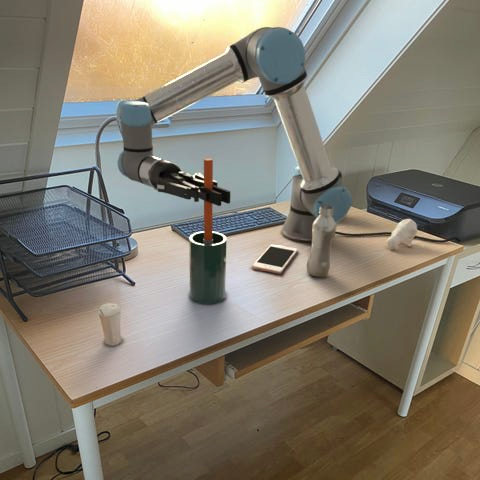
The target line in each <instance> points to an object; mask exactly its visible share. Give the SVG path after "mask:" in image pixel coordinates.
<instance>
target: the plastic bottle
mask: <svg viewBox="0 0 480 480" xmlns="http://www.w3.org/2000/svg"><path fill="white" fill-rule="evenodd" d="M333 211H334V207H332V206H330V205H321V206H320V211H319V214H320V215H319V216H318V217H317V218H316V219H315V221H314V222H313V225H312V242H311V248H310V253H309V257H308V260H307V262H306V271H307V273H308V274H309V275H310V276H313V277H317V278H319V277H320V278H321V277H326V276H327V275H328V274H329V271H330V269H331V249H332V244H333V241H334V237H335V235H336V234H335V231H336V232H337V222H335V221H334V219H333V217H332V215H333V214H334V213H333Z"/></svg>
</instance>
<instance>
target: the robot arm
mask: <svg viewBox="0 0 480 480" xmlns="http://www.w3.org/2000/svg"><path fill="white" fill-rule="evenodd" d="M305 64H306V50H305V45H304V44H303V42H302V40H301V38H300V36H298V35H297V34H296V33H295V32H294V31H292V30H290V29H289V28H285V27H283V26H282V27H281V26H274V27H271V26H270V27H269V26H264V27H263V26H262V27H260V28H257V29H255V30H254V31H252V32H250V33H249V34H247V35H246V36H244V37H243V38H240V39H239V40H238V41H236V42H234V43H232V44H231V45H229V46H227V48H226V50H225V52H224V53H223V54H221V55H218V56H217V57H215V58H213V59H211V60H209V61H208V62H206V63H203V64H202V65H200V66H198V67H196V68H194V69H193V70H190V71H188V72H187V73H185V74H182V75H181V76H179V77H177V78H176V79H173V80H171V81H170V82H168V83H166V84H164V85H162V86H160V87H158V88H157V89H155V90H153V91H151V92H149V93H147V94H145V95H143V96H141V97H140V98H138V99H136V100H131V101H124V102H121V104H120V105H119V120H120V119H121V121H120V125H121V134H122V135H121V136H122V143H123V144H122V145H123V146H122V147H123V148H122V149H123V150H122V151H121V152H120V154H119V155H118V159H117V168H118V171H119V172H120V174H121V175H122V176H124V177H126V178H128V179H129V180H131V181H134V182H137V183H139V184H143V185H145V186H147V187H150V188H152V189H154V190H155V191H157V192H158V193H164V194H167V195H168V194H169V195H171V196H174V197H178V198H181V199H184V200H188V201H189V200H191V199H193V202H194V203H198V202H200V200H202V201H203V202H204V201H207V202H209V203H212V204H213V205H215V206H217V207H221V206H222V203H225V204H227V205H228V204H231V190H228V189H225V188H223V187H220V186H218V181H216V180H214V179H213V190H210V189H208V188H205V187H204V174H202V173H201V172H197V171H196V172H195V174H194V175H192V174H190V173H186V172H184V171H182V170H181V168H180V166H178V164H176V163H174V162H171V161H169V160H166V159H163V158H161V157H160V158H159V157H157V156H154V147H153V146H154V145H153V126H155V125H156V124H158V123H159V122H162V121H164V120H167V118H169V117H171V116H174V115H175V114H177V113H179V112H181V111H183V110H185V109H187V108H189V107H190V106H193V105H194V104H197V103H198V102H201V101H202V100H204V99H206V98H208V97H210V96H212V95H214V94H215V93H218V92H220V91H221V90H223V89H225V88H227V87H229V86H231V85H233V84H235V83H236V82H238V83H241V84H243V83H246V82H247V81H250V80H253V79H255V78H258V79H259V82H260V84H261V87H262V90H263V92H264V94H265V97H267V98H269V99H272V100H273V102H274V105H275V107H276V111H277V113H278V116H279V118H280V121H281V123H282V127H283V128H284V131H285V135H286V136H287V140H288V142H289V145H290V148H291V150H292V153H293V156H294V158H295V161H296V163H297V165H296V166H295V168H294V170H293V175H292V184H291V185H292V186H291V195H290V205H289V212H288V214H287V217H286V218H285V221H284V223H283V226H282V232H281V233H282V235H283V236H284V237H285V238H287V239H289V240H291V241H295V242H299V243H312V225H313V222H314V221H315V219H316V218H317V217H318V216H319V215H320V214H319V211H320V206H321V205H330V206H332V207H334V211H333V213H334V214H333V215H332V217H333V219H334V221H335V223H337V222H340V221H341V220H342V219H344V218H345V217H346V216H347V215H348V213H349V211H350V209H351V207H352V202H353V197H352V195H351V193H350V191H349V189H348V188H346V187H345V186H344V185H343V181H342V178H340V175H339V172H338V170H339V169H337V167H334V166H332V165H331V163H330V159H329V156H328V154H327V150H326V147H325V143H324V141H323V138H322V135H321V132H320V129H319V126H318V123H317V120H316V117H315V114H314V111H313V107H312V105H311V102H310V99H309V96H308V92H307V89H306V87H305V83H306V80H307V79H308V73H307V70H306V67H305ZM392 232H393V231H381V232H366V233H365V232H364V233H347V232H340V231H337V230H336V231H335V234H334V235H340V236H346V237H365V236H366V237H369V236H382V235H383V236H384V235H386V236H387V235H389V236H391V234H392ZM413 239H418V240H423V241H427V242H432V243H439V244H440V243H448V242H451V241H453V240H456V241H457V242H461V239H460V238H459V237H457V236H452V237H449V238H446V239H434V238H428V237H423V236H419V235H415V237H414V238H413Z"/></svg>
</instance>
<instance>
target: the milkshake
mask: <svg viewBox="0 0 480 480" xmlns="http://www.w3.org/2000/svg"><path fill="white" fill-rule="evenodd" d="M97 313H98V316H99V320H100V324H101V328H102V333H103V337H104V342H105V344H106V345H107V346H112V347H115V346H118V345H119V344H120V343H121V340H122V338H121V317H122V316H121V307H120V306H119V305H118V304H116V303H107V302H106V303H104V304H102V305H100V306H99V308H98V312H97Z"/></svg>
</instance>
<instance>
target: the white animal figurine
mask: <svg viewBox="0 0 480 480" xmlns="http://www.w3.org/2000/svg"><path fill="white" fill-rule="evenodd" d="M391 232H392V234H391V235H390V236H389V237H388V238H387V240H386V242H385V243H386V245H387V247H388V248H389V250H398V248H399V245H400V244H406V246H407V247H408V248H410V247H411V246H412V243H413V240H414V239H415V238H414V237H415V236H417V232H418V226H417V223H416V222H415V221H414V220H413V219H411V218H405V219H403V220H401V221H400V222H398V224H397V225H396V227H395V229H394V230H393V231H391Z"/></svg>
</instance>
